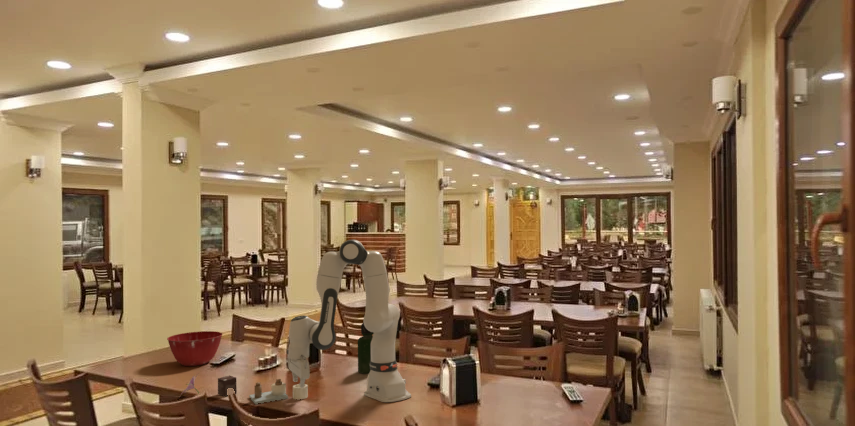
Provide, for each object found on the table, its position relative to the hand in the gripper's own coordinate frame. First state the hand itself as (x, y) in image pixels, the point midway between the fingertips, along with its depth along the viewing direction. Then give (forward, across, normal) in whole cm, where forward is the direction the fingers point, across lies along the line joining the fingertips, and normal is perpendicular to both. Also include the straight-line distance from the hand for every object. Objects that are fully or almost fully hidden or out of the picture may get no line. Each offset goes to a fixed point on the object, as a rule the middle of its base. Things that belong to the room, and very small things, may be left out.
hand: (298, 384), depth 241 cm
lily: (+7, +30, +41) cm, 51 cm away
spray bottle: (+5, +21, -43) cm, 48 cm away
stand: (+6, +6, +12) cm, 14 cm away
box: (+7, +22, +26) cm, 35 cm away
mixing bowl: (+8, +91, +30) cm, 97 cm away
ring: (+6, -1, 0) cm, 6 cm away
